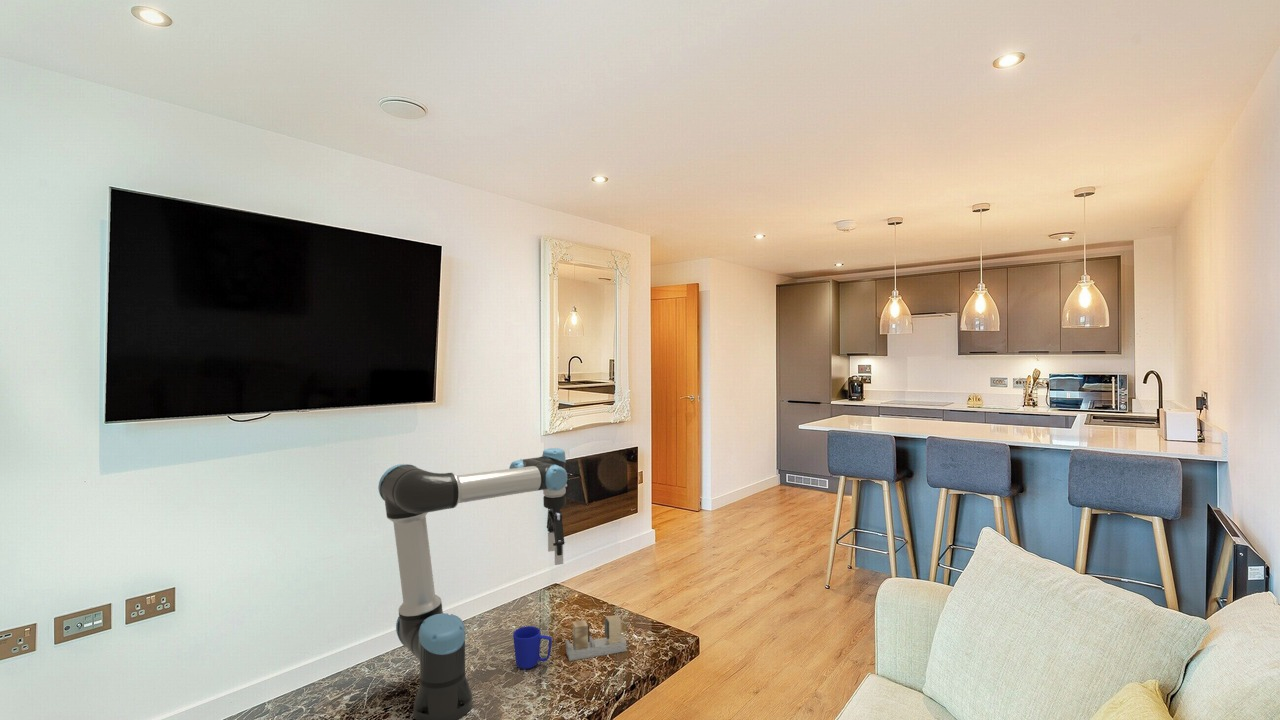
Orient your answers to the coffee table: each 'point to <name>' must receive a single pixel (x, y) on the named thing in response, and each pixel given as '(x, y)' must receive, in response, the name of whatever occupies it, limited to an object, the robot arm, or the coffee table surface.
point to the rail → (601, 642)
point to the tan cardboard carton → (580, 634)
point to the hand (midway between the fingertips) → (555, 557)
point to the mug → (529, 646)
